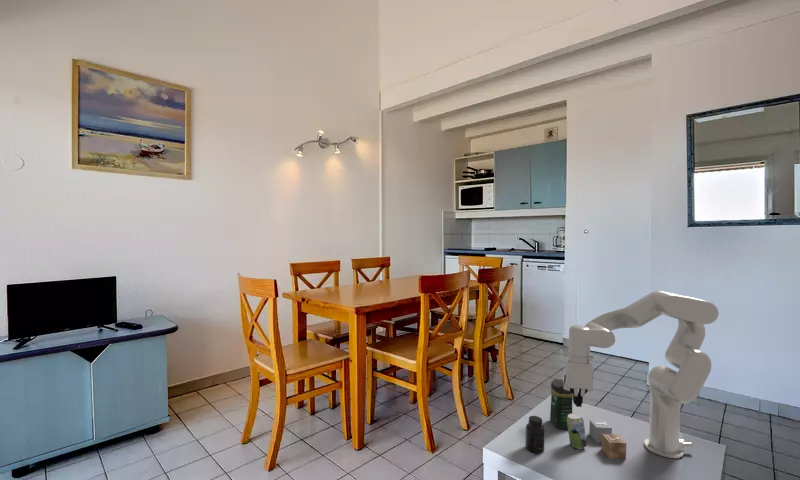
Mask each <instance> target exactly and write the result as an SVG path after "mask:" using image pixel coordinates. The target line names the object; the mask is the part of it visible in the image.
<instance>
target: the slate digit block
mask: <svg viewBox="0 0 800 480" xmlns="http://www.w3.org/2000/svg"><path fill="white" fill-rule="evenodd" d="M588 433H589V436H590V437H591V438H592V439H593V440H594V442H595V443H602V434H613V428H612V426H611V425H609V423H608V422H607V421H606V420H599V419H589V432H588Z"/></svg>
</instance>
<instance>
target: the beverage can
mask: <svg viewBox="0 0 800 480" xmlns="http://www.w3.org/2000/svg"><path fill="white" fill-rule="evenodd" d="M567 426H568V429H567V431H568V438H569V443H570V446H572V447H573V448H575V449H577V450H583V449H585V448H586V447H587V446H588V442H587V440H588V439H587V433H586V428H585V422H584V418H583V417H582V415H581V414H579V413H576V412H574V413H573V412H572V414H569V415H568V417H567Z"/></svg>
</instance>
